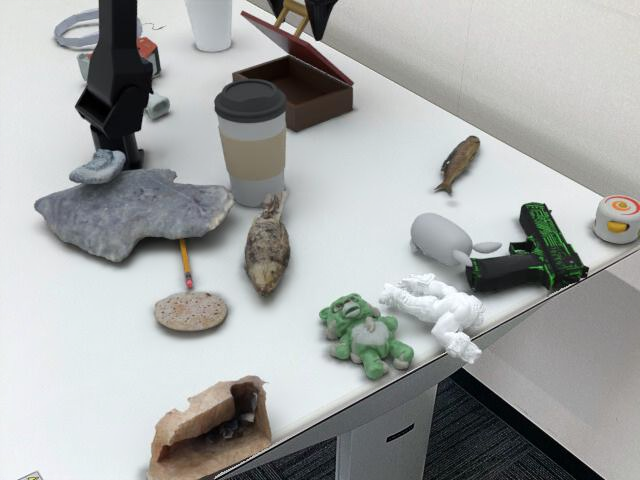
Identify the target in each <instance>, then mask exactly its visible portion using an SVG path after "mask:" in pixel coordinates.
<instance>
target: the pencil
mask: <svg viewBox="0 0 640 480" xmlns="http://www.w3.org/2000/svg"><path fill="white" fill-rule="evenodd" d="M179 244H180V251H181V256H182V262H183V268H184V277H185V282H186V286H187V287H188V288H193V278H192V273H191V270H190V263H189V258H188V252H187V247H186V246H187V245H186V240H185V238H179Z"/></svg>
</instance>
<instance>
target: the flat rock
mask: <svg viewBox="0 0 640 480" xmlns="http://www.w3.org/2000/svg"><path fill="white" fill-rule="evenodd" d="M176 178H178V175H177V172H176V171H175V170H171V168H156V167H155V168H150V169H147V168H143V169H138V170H129V171H120V173H119V174H117V175H116V176H115V177H114V178H113V179H112V180H111V181H110V182H107V183H102V184H87V183H78V185H75V186H73V187H70V188H66V189H63V190H59V191H56V192H52V193H50V194H48V195H45V196H42V197H39V198H38V199H36V200H35V201H34V204H33V208H34V211H35V212H37V213H38V214H40V215H41V216H42V218H43V219H44V221H45V222H46V225H47V227H49V229H50V230H51V231H52V232H54V233H55V234H56V236H57V237H58V238H59V240H61V241H62V242H63V243H69V244H72V245H74V246H76V247H78V248H80V249H81V250H83V251H85V252H87V253H88V254H90V255H94V256H96V257H103V258H104V259H106V260H109V261H112V262H113V263H120V262H121V261H123V260H125V259H126V258H128V257H129V256H130V255H131V253H132V251H133V248H135V246H136V245H138V243H139V242H140V241H142V240H143V239H145V238H149V237H153V238H165V239H167V240H168V239H169V240H178V239H179V238H184V239H185V238H195V237H200V238H201V237H204V236H205V235H206V234H207V233H209V232H210V231H213V230H214V229H217V227H218V226H220V224H222V222H223V221H225V219H226V217H227V216H228V215H229V213H231V210H232V208H233V206H234V203H235V202H234V201H235V199H234V197H233V193H232V191H231V190H229V189H228V188H227V187H226V186H224V185H216V184H192V183H191V184H190V183H181V182H180V183H178V182H174V181H175V179H176ZM179 240H180V239H179Z"/></svg>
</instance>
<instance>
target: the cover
mask: <svg viewBox="0 0 640 480" xmlns="http://www.w3.org/2000/svg"><path fill="white" fill-rule="evenodd" d="M283 6H284V8H283V10H282V11H281V13H280V15H279V17H278V18H277V19H275V22H274V23H273V24H272V23H270V22H267V21H265V20H263V19H261V18H259V17H257V16H255V15H253V14H251V13H249V12H247V11H246V10H245V11H244V9H243V10H241V12H240V13H239V15H240V16H242V17H243V18H244V19H245V20H246V21H248V22H249V23H250V24H251V25H252V26H254V27H255V28H256V29H257V30H258V31H260V32H261V33H262V34H263V35H264V36H265V37H267V38H268V39H269V40H270V41H272V42H273V43H274V44H275V45H276V46H278V47H279V48H280V49H281V50H282V51H283V52H284V53H286V54H287V55H291V56H293V57H295V58H297V59H299V60H301V61H302V62H304V63H306V64H308V65H310V66H312V67H314V68H316V69H318V70H320V71H322V72H324V73H326V74H328V75H330V76H332V77H334V78H336V79H338V80H339V81H341V82H343V83H345V84H347V85H349V86H351V87H353V86H354V85H355V82H354V81H353V80H352V79H351V78H350V77H348V76H347V75H346V74H345V73H344V72H343V71H342V70H341V69H339V68H338V66H336V65H335V64H334V63H333V62H332V61H330V60H329V59H328V57H326V56H325V55H323V54H322V53H321V51H319V50H318V49H317V48H315V46H313V45H312V44H311V43H310V42H308V41H306V40H304V39H302V38H300V37H301V36H302V34H303V32H304V30H305V28H306V27H307V25H308V23H310V21H309V17H308V13H307V9H306V5H305V4H304V3H301V2H299V1H296V0H284V2H283ZM289 12H291V13H294V14H296V15H298V16H300V17H302V20H301V21H300V23H299V25H298V27H297V28H296V29H295V32H294V33H290V32H288V31H286V30H284V29H282V28H281V25H282V24H283V23H282V22H283V20H284V19H285V20H286V18H287V15H288V14H289ZM285 17H286V18H285Z"/></svg>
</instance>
